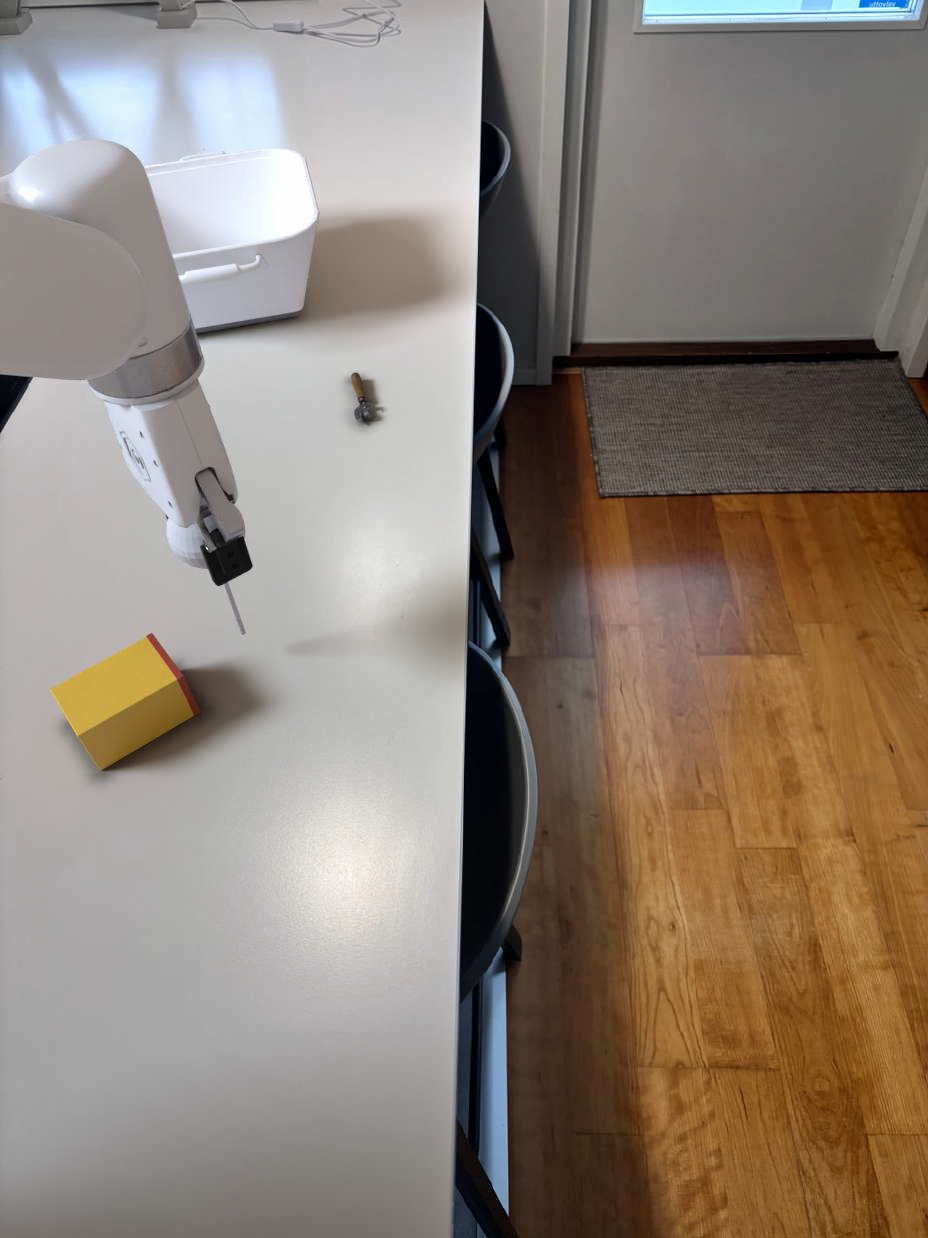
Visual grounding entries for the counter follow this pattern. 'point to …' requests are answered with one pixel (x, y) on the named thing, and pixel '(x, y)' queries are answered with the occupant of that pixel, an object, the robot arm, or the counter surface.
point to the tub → (238, 233)
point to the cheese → (126, 701)
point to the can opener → (360, 398)
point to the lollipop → (189, 551)
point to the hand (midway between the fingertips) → (212, 550)
